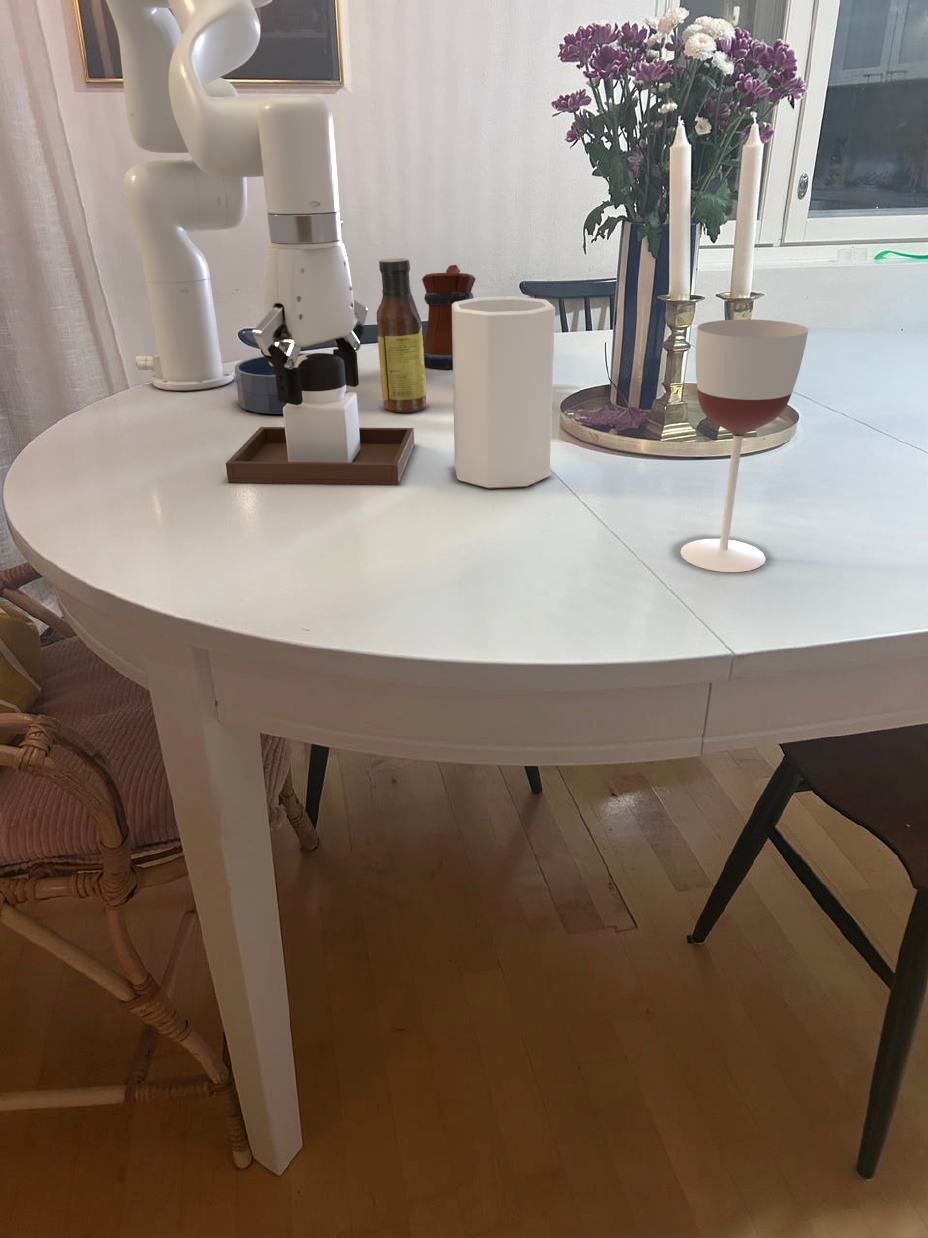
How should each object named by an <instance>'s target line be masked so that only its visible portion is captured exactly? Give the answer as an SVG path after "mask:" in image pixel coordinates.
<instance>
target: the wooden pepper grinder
mask: <svg viewBox="0 0 928 1238" xmlns="http://www.w3.org/2000/svg"><path fill="white" fill-rule="evenodd" d="M421 281H422V284H423V287H424V291H425V294H424V298H423V299H424V301H425V303H426V305H428V317H427V326H426V330H425V334H424V336H423V348H424V349H423V350H424V364H425V368H431V369H438V370H439V369H440V370H453V345H452V304H453V303H454V302H458V301H463V300H468V299H473V298H475V297H474V293H473V292H472V290H473V287H474V284H475V282H476V277H475V276H474V275H473V274H469V273H463V272H461V269H460V268H459V266H458V265H457V264H452V265H448V267H447V269H446V270H445V272H433V273H427V274H424V276H423V277H422V279H421Z"/></svg>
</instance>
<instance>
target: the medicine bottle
mask: <svg viewBox="0 0 928 1238" xmlns="http://www.w3.org/2000/svg"><path fill="white" fill-rule="evenodd" d="M294 367H296V368H299V370H300V378H301V388H302V398H303V402H302V404H300V405H293V404H288V403H287V404H286V405H285V406H284V407H283V414H282V415H283V423H284V425H283V426H284V427H285V434H286V443H287V452H288V461H289V462H345V463H352V461H353V460H354V458H355V457H356V455H357V454H358V452H359V451H360V434H359V428H360V421H359V409H358V408H359V407H358V394H357V393H356V392H354V391H347V386H346V381H345V368H344V361H343V359H342V358H341V357H338V356H336V355H334V354H333V353H328V352H313V353H312V352H311V354H305V355H301V356H299V357H298V358H297V361H296V363H295V366H294Z"/></svg>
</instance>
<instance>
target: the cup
mask: <svg viewBox="0 0 928 1238" xmlns="http://www.w3.org/2000/svg"><path fill="white" fill-rule="evenodd" d="M555 323H556V307H555V306H554V305H553V304H552V303H551V302H549V300H547V299H544V298H534V297H526V296H517V295H515V296H513V295H512V296H511V295H510V296H481V297H480V296H479V297H474V298H473V299H468V300H463V301H458V302H454V303H453V304H452V345H453V369H452V386H453V387H452V390H453V392H452V394H453V395H452V397H453V441H454V443H453V444H454V470H455V474H456V478H457V480H458V481H459V482H462V483H466V484H470V485H473V486H478V487H482V488H486V489H488V490H489V489H490V490H491V489H513V488H527V487H529V486H531V485H534V484H535V483H539V482H540V481H542V480H545V479H547V478H549V477H550V475H551V450H552V449H551V448H552V419H553V388H554V387H553V386H554V356H555V355H554V354H555V351H554V350H555V327H556V325H555Z"/></svg>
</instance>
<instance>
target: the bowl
mask: <svg viewBox="0 0 928 1238" xmlns="http://www.w3.org/2000/svg"><path fill="white" fill-rule="evenodd" d="M311 353H312V352H311ZM311 353H310V352H309V353H308V352H302V353H301V352H300V353H299V356H301V355H305V354H311ZM299 356H298V357H299ZM234 374H235V376H234V377H235V381H236V382H235V383H236V388H237V389H236V391H237V397H238V398H237V399H238V405H239V407H241V408H242V409H244V410H246V411H249V412H253V413H260V414H267V415H283V407H284V406H285V405H286V404H287V403H282V402H280V401H279V400H278V393H277V384H276V375H275V367H273V366H271V365H270V364H269V361H268V360H267V359H266V358H265V357H264V356H263V355H260V356H256V357H251V358H247V359H245V360H242V361H240V362H238V363H237V364H235V365H234Z"/></svg>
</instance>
